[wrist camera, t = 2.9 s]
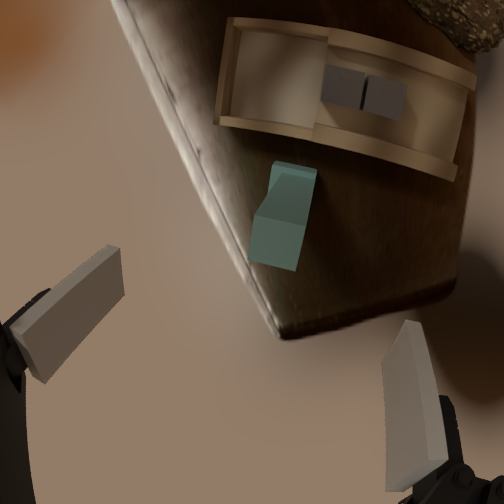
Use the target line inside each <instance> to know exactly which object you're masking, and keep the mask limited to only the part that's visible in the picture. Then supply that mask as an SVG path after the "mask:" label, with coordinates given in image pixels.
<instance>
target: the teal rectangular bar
mask: <svg viewBox="0 0 504 504" xmlns="http://www.w3.org/2000/svg"><path fill="white" fill-rule="evenodd" d="M316 174H317V169H313V168H309V167H304V166H300V165H295V164H290V163H285V162H280V161H275V162H274V163H273V164H272V170H271V176H270V182H269V188H268V194H267V196H266V198H265V199H264V201H263V202H262V204H261V205H260V207H259V208H258V210H257V211H256V213H255V215H254V220H253V227H252V233H251V240H250V247H249V253H248V260H251V261H255V262H259V263H263V264H267V265H272V266H276V267H280V268H284V269H288V270H292V271H296V267H297V262H298V258H299V254H300V250H301V246H302V242H303V237H304V233H305V229H306V224H307V219H308V214H309V209H310V204H311V199H312V194H313V189H314V184H315V179H316Z"/></svg>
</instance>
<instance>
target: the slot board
mask: <svg viewBox="0 0 504 504" xmlns="http://www.w3.org/2000/svg"><path fill="white" fill-rule="evenodd" d="M326 64H329V65H334V66H338V67H343V68H347V69H352V70H356V71H360V72H364V73H366V74H365V77H366V76H368V75H369V74H371V75H375V76H378V77H382V78H385V79H389V80H392V81H395V82H399V83H402V84H405V85H407V89H406V95H405V100H404V105H403V110H402V115H401V120H400V121H397V120H393V119H390V118H387V117H383V116H380V115H376V114H373V113H369V112H365V111H362V110H358V109H354V108H350V107H346V106H341V105H337V104H333V103H328V102H324V101H320V98H321V92H322V87H323V81H324V75H325V69H326ZM364 81H365V80H364ZM476 81H477V75H475V74H473V73H471V72H469V71H467V70H464V69H462V68H460V67H458V66H455V65H453V64H451V63H448V62H446V61H443V60H441V59H438V58H436V57H433V56H431V55H428V54H425V53H423V52H420V51H417V50H414V49H411V48H408V47H405V46H402V45H399V44H396V43H392V42H389V41H386V40H382V39H378V38H375V37H371V36H367V35H363V34H359V33H355V32H351V31H346V30H341V29H337V28H331V27H330V28H327V27H322V26H316V25H310V24H303V23H296V22H288V21H280V20H270V19H258V18H241V17H228V19H227V25H226V31H225V38H224V44H223V51H222V58H221V65H220V72H219V79H218V87H217V95H216V103H215V111H214V120H213V124H215V125H223V126H230V127H237V128H244V129H250V130H257V131H263V132H268V133H274V134H279V135H285V136H290V137H295V138H300V139H305V140H310V141H312V142H317V143H321V144H326V145H330V146H334V147H338V148H342V149H346V150H350V151H354V152H358V153H362V154H366V155H369V156H373V157H377V158H380V159H384V160H387V161H391V162H394V163H397V164H401V165H404V166H407V167H410V168H413V169H417V170H420V171H423V172H426V173H429V174H432V175H435V176H437V177H440V178H443V179H446V180H449V181H451V182H454V180H455V176H456V173H457V169H458V166H457V165H455V164H454V163H452V162H453V159H454V155H455V151H456V147H457V143H458V139H459V135H460V130H461V126H462V121H463V116H464V111H465V106H466V100H467V95H468V91H475V88H476ZM363 87H364V86H363ZM361 98H362V97H361ZM360 103H361V102H360Z"/></svg>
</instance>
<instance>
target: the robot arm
mask: <svg viewBox="0 0 504 504" xmlns="http://www.w3.org/2000/svg"><path fill="white" fill-rule="evenodd" d="M124 295H125V294H124V286H123V276H122V266H121V255H120V248H118V247H114V246H111V245H106V246H105V247H104V248H102V249H101V250H100V251H98V252H97V253H96V254H95V255H93V256H92V257H91V258H90V259H88V260H87V261H86V262H85V263H83V264H82V265H81V266H79V267H78V268H77V269H76V270H75V271H73V272H72V273H71V274H69V275H68V276H67V277H66V278H65V279H63V280H62V281H61V282H60V283H58V285H56V286H55V287H54V288H53V289H50V288H48V289H46V290H44V291H42V292H40V293H38V294H37V295H36V296H35V297H33V298H32V299H31V301H29V302H28V303H26V304H25V306H23V307H22V308H21V309H20V310H18V312H16V313H15V314H14V315H13V316H12V317H11V318H10V319H9V320H7V321H6V322H5V323H4V324H3V325H2V324H1V322H0V504H36V501H35V496H34V490H33V484H32V478H31V471H30V463H29V453H28V442H27V428H26V376H25V372H24V371H25V369H26V368H27V367H28V368H29V370H30V372H31V374H32V376H33V377H35V378H36V379H38V380H39V381H41V382H42V383H44V384H46V382H47V381H48V380H49V379H50V378H51V377H52V375H53V374H54V373H55V372H56V371H57V370H58V368H59V367H60V366H61V365H62V364H63V362H64V361H65V360H66V359H67V358H68V357H69V356H70V354H71V353H72V352H73V351H74V350H75V349H76V348H77V346H78V345H79V344H80V343H81V342H82V341H83V340H84V339H85V337H86V336H87V335H88V334H89V333H90V332H91V331H92V330H93V329H94V328H95V326H96V325H97V324H98V323H99V322H100V321H101V320H102V319H103V318H104V316H105V315H106V314H107V313H108V312H109V311H110V310H111V309H112V308H113V307H114V306H115V305H116V304H117V303H118V302H119V300H120V299H121V298H122V297H123V296H124ZM382 372H383V386H384V402H385V425H386V486H385V491H386V492H404V491H405V490H407V489H409V488H410V487H412V486H413V494H411V495H410V496H408V497H406V498H405V499H403V500H401V501H400V502H399V503H398V504H402V503H403V504H504V476H503V475H501V476H498V477H497V478H495V479H494V480H492V481H488V480H485V479H481V478H478V477H475V474H474V471H473V470H472V469H471V468H470V466H468V465H466V464H464V461H463V455H462V448H461V442H460V436H459V430H458V429H457V427H458V425H457V420H456V414H455V410H454V406H453V404H452V402H451V401H450V399H449V398H448V396H444V395H438V391H437V386H436V381H435V377H434V372H433V368H432V364H431V360H430V356H429V352H428V348H427V344H426V340H425V336H424V333H423V329H422V326H421V323H420V322H415V321H410V320H405V322H404V324H403V326H402V328H401V329H400V331H399V333H398V335H397V337H396V339H395V341H394V342H393V344H392V346H391V348H390V349H389V351H388V353H387V355H386V357H385V358H384V360H383V362H382Z"/></svg>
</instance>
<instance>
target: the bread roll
mask: <svg viewBox="0 0 504 504" xmlns="http://www.w3.org/2000/svg"><path fill="white" fill-rule="evenodd" d="M407 1H408V2H409V3H410V4H411V6H412V7H413V8H414V9H416V10H417V11H418V12H419V13H420V14H421V16H422V17H423V18H424V19H426V20H427V21H428V22H429V23H430V24H434V25H435V26H437V27H438V28H440V29H441V30H442V31H443V32H444V33H445V34H446V35H447V36H448V37H449V38H450V40H451V41H452V43H453V44H454V45H455V46H456V47H461V48H464V49H465V50H466V51H467V52H469V53H478V54H480V53H482V52H489V51H490V50H489V49H491V48H494V47H498V46H499V43H500V42H501V39H502V38H504V0H407Z"/></svg>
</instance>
